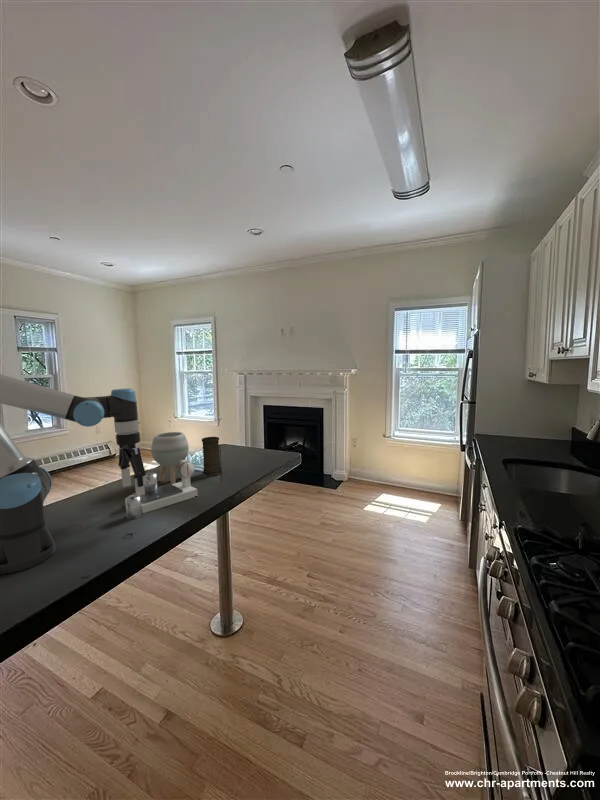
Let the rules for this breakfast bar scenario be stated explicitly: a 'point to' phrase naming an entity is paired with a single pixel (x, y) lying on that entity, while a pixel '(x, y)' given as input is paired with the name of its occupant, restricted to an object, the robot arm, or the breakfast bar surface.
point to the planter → (169, 452)
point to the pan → (160, 493)
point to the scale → (185, 485)
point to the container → (211, 456)
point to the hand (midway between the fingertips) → (133, 490)
